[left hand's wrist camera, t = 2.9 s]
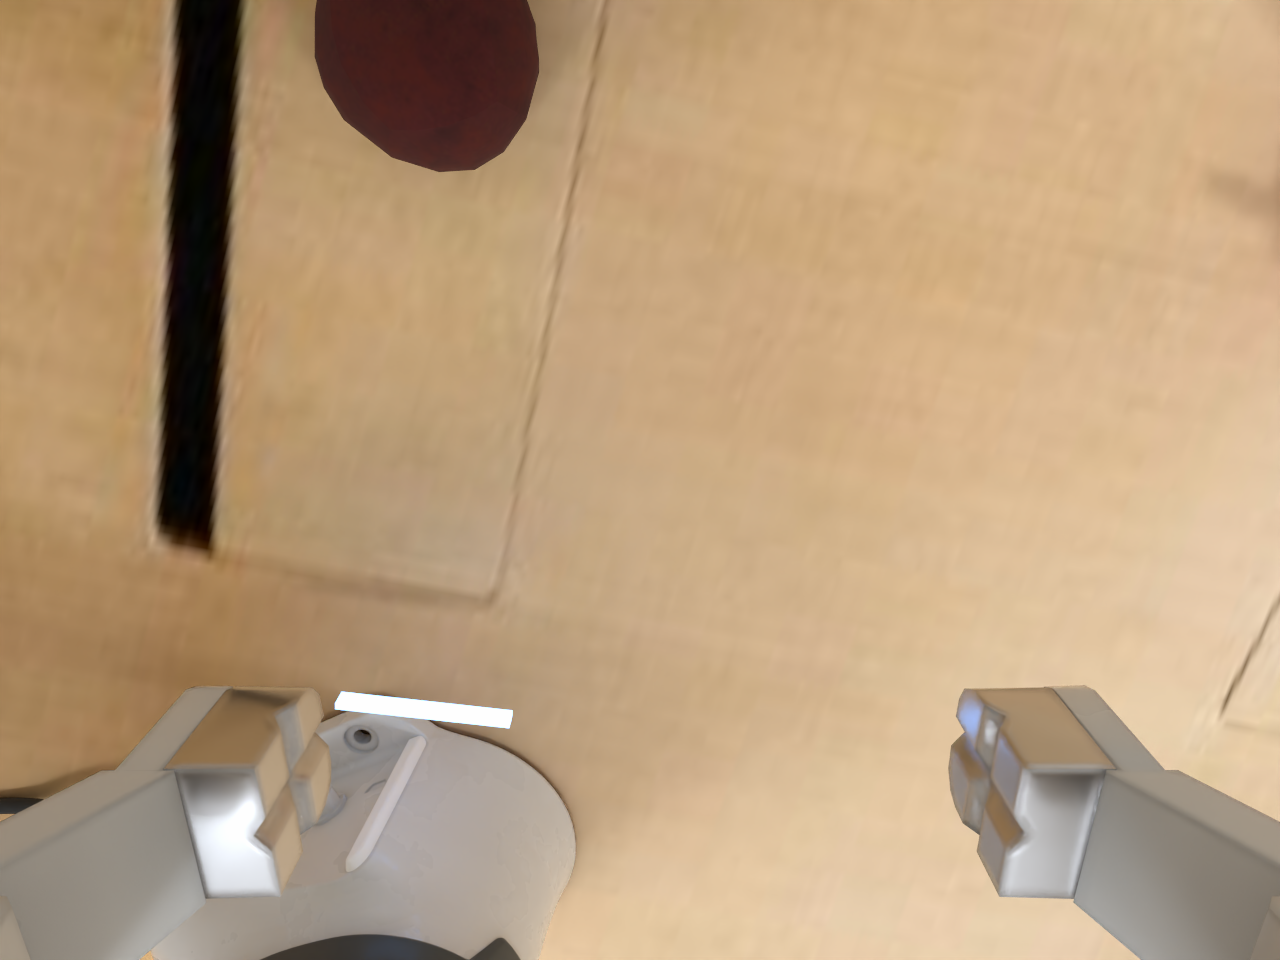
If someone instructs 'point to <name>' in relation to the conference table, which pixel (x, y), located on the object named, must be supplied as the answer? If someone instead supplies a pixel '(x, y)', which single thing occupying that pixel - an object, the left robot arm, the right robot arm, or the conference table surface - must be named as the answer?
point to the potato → (430, 75)
